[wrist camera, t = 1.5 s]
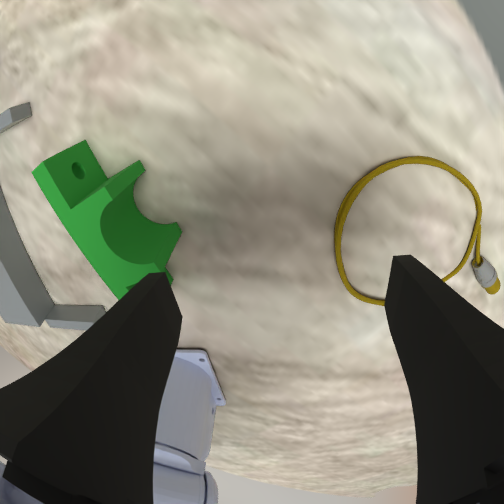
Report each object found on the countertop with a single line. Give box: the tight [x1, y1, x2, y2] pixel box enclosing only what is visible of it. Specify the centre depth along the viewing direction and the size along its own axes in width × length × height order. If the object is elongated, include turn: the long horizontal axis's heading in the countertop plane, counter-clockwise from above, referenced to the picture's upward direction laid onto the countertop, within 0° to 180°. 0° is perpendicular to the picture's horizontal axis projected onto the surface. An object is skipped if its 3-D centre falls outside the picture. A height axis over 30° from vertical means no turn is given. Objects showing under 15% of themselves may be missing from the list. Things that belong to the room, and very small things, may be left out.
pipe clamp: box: [32, 140, 182, 300], centre depth 16 cm, size 11×4×5 cm, turn 24°
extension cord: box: [334, 156, 500, 306], centre depth 18 cm, size 12×16×2 cm
